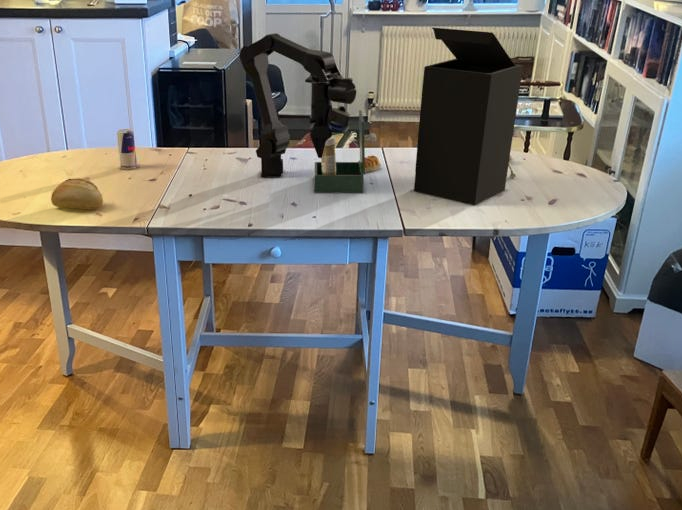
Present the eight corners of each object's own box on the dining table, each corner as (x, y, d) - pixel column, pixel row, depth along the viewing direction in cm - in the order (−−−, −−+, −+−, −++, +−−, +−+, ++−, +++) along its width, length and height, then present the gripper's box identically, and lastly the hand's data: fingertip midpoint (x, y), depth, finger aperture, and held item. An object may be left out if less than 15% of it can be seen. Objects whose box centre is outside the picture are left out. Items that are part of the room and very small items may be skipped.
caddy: (314, 192, 222) (314, 175, 220) (314, 178, 235) (314, 161, 232) (362, 192, 222) (363, 175, 219) (360, 178, 234) (361, 162, 231)
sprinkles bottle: (322, 180, 230) (319, 136, 224) (337, 179, 230) (334, 135, 223) (322, 184, 226) (319, 140, 220) (337, 183, 226) (335, 138, 219)
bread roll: (59, 201, 218) (54, 174, 214) (108, 202, 217) (105, 175, 213) (47, 212, 210) (42, 184, 206) (99, 213, 209) (95, 185, 205)
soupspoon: (512, 161, 250) (491, 161, 251) (513, 151, 248) (492, 151, 249) (523, 178, 231) (501, 178, 232) (524, 167, 229) (502, 168, 230)
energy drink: (135, 169, 245) (131, 132, 239) (119, 170, 245) (115, 133, 239) (138, 165, 250) (134, 128, 244) (122, 165, 250) (118, 129, 244)
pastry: (365, 174, 237) (366, 163, 235) (348, 171, 241) (348, 159, 239) (382, 168, 243) (382, 156, 241) (365, 164, 247) (365, 153, 245)
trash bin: (412, 191, 222) (426, 27, 199) (446, 177, 234) (462, 20, 211) (473, 205, 210) (495, 33, 187) (505, 190, 222) (530, 26, 199)
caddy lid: (361, 121, 211) (377, 120, 211) (358, 110, 223) (374, 109, 223) (362, 174, 219) (377, 173, 218) (359, 160, 231) (374, 159, 231)
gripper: (350, 106, 207) (348, 162, 215) (347, 93, 223) (345, 145, 231) (310, 106, 208) (309, 162, 216) (310, 93, 224) (309, 145, 232)
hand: (319, 153), depth 223 cm, fingers open, 9 cm apart
